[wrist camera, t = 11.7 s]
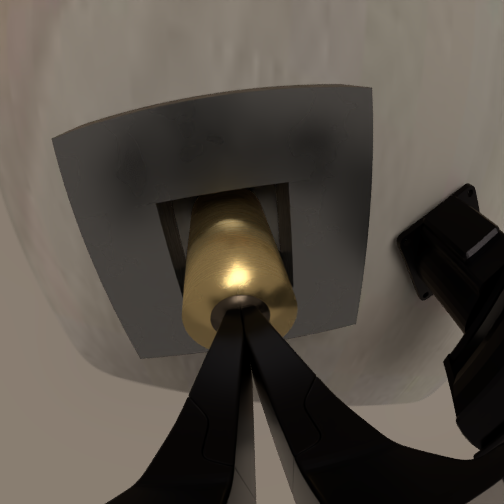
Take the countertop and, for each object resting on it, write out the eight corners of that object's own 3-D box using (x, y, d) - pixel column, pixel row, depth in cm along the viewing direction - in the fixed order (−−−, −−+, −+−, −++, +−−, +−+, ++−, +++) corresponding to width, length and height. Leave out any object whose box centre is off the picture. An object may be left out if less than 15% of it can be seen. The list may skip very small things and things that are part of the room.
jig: (338, 290, 18) (355, 324, 16) (146, 321, 18) (140, 358, 15) (341, 84, 12) (372, 87, 9) (80, 125, 11) (51, 138, 9)
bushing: (276, 221, 15) (317, 319, 9) (221, 259, 16) (231, 367, 10) (233, 168, 14) (253, 247, 8) (176, 213, 14) (157, 314, 9)
